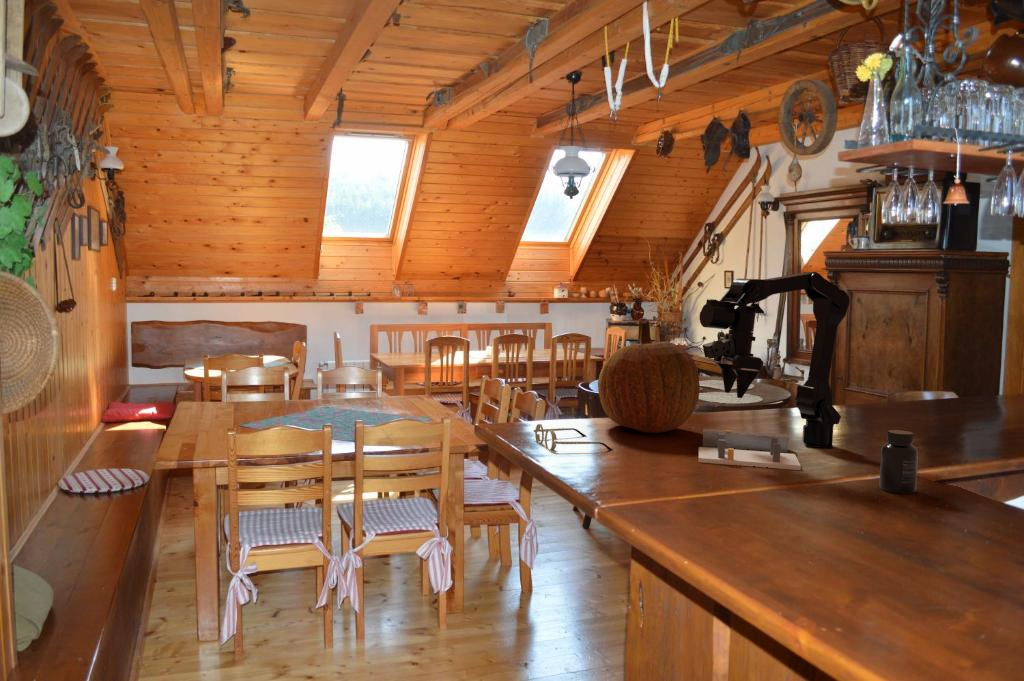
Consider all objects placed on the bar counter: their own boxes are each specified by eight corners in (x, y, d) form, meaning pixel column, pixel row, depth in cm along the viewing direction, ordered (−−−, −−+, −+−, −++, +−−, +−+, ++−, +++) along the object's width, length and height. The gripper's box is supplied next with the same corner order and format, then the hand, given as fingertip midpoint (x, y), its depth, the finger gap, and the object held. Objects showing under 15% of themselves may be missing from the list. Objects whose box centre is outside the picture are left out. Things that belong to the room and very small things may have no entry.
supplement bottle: (913, 487, 172) (917, 430, 170) (917, 496, 165) (922, 436, 164) (877, 484, 174) (881, 427, 173) (880, 492, 167) (884, 433, 166)
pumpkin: (575, 423, 231) (579, 315, 228) (658, 418, 242) (662, 315, 239) (626, 443, 206) (631, 323, 203) (716, 437, 217) (722, 322, 214)
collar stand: (794, 458, 196) (795, 437, 195) (800, 470, 184) (801, 447, 183) (698, 450, 200) (699, 430, 200) (698, 462, 189) (699, 440, 188)
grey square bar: (785, 450, 205) (786, 433, 205) (787, 453, 202) (788, 436, 201) (702, 444, 210) (703, 427, 210) (702, 447, 206) (703, 430, 206)
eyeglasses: (531, 439, 210) (531, 420, 209) (586, 437, 214) (587, 418, 214) (555, 455, 194) (556, 434, 193) (614, 452, 198) (615, 431, 198)
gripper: (697, 325, 208) (690, 387, 209) (720, 329, 190) (712, 397, 191) (740, 329, 209) (733, 391, 210) (767, 334, 190) (759, 402, 191)
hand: (733, 395), depth 201 cm, fingers open, 9 cm apart
